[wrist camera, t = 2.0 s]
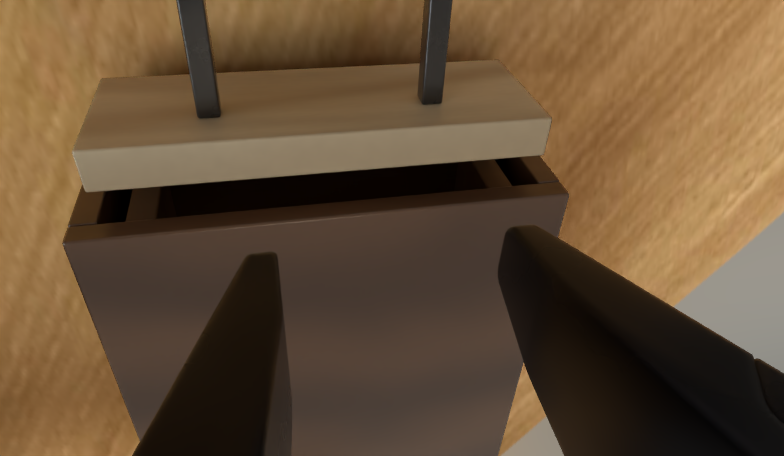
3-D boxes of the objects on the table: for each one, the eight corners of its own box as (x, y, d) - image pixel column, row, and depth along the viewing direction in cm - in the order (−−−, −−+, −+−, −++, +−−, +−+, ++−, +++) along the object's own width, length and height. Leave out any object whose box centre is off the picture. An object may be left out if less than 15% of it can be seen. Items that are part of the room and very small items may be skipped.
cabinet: (101, 127, 19) (60, 243, 14) (497, 102, 21) (570, 193, 17) (185, 414, 28) (177, 539, 24) (453, 373, 31) (492, 478, 26)
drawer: (45, -119, 14) (-10, -83, 11) (526, -113, 16) (599, -82, 13) (187, 388, 26) (181, 477, 23) (453, 349, 28) (482, 425, 25)
